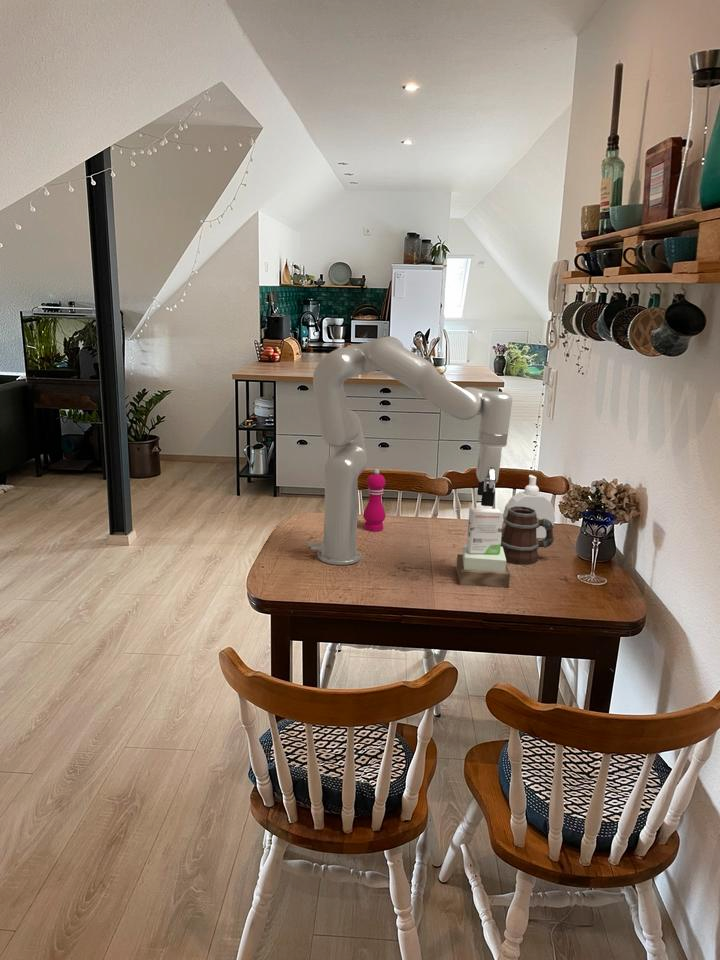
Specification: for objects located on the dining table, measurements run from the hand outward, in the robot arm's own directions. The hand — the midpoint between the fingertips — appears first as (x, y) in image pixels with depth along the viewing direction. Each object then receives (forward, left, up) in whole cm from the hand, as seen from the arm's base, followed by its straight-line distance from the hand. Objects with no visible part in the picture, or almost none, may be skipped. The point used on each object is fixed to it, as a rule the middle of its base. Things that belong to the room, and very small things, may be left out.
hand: (484, 500), depth 199 cm
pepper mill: (-30, +36, -22) cm, 52 cm away
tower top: (+1, 0, -18) cm, 18 cm away
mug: (+16, +17, -22) cm, 32 cm away
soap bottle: (+20, +38, -22) cm, 48 cm away
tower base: (+1, 0, -23) cm, 23 cm away
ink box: (+1, 0, -15) cm, 15 cm away
